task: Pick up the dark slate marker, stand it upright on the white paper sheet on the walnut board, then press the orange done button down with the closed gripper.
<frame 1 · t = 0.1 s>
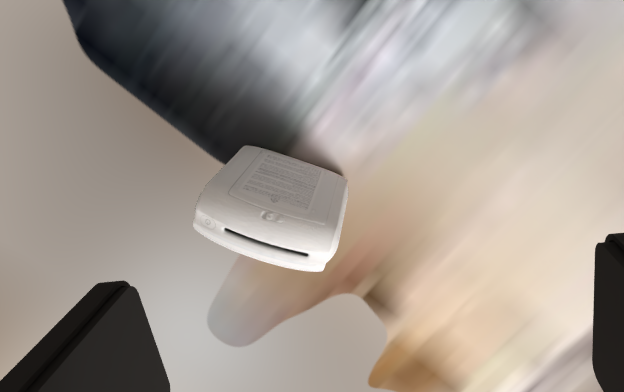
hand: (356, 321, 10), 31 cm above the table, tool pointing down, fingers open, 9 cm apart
photo printer: (291, 177, 43), on the table
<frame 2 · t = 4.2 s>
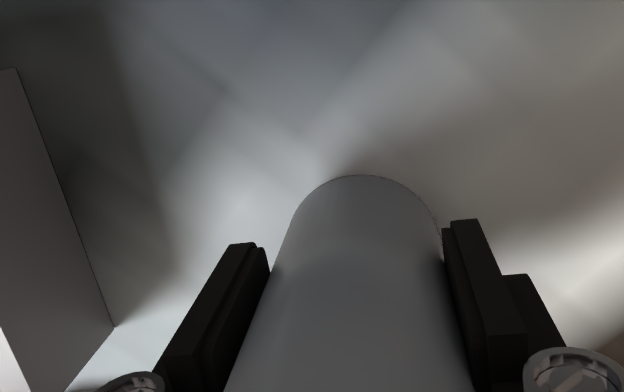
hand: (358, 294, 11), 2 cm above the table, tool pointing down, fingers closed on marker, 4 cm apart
marker: (362, 245, 13), on the table, touching gripper
when the fingers open (5 cm above the table, at t = 9.9 s): marker drops 1 cm, resting on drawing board.
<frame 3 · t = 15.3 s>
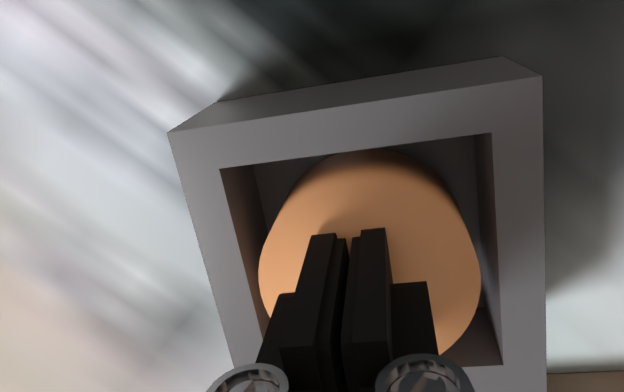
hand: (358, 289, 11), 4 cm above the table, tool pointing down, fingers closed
button housing: (370, 212, 15), on the table
done button: (367, 259, 12), point 3 cm above the table, slide at 1.1 cm
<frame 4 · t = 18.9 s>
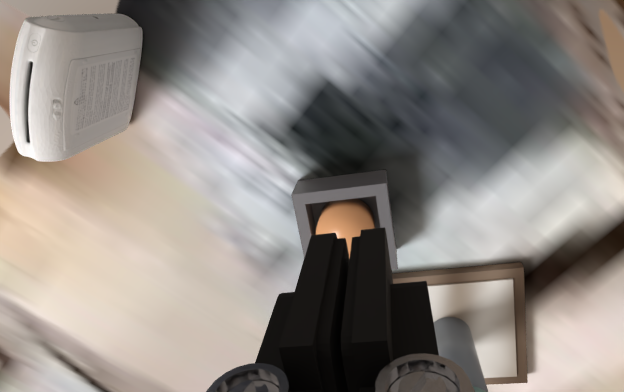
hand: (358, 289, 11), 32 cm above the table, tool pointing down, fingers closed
photo printer: (119, 72, 44), on the table
button housing: (347, 215, 46), on the table
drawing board: (448, 326, 49), on the table
done button: (345, 228, 43), point 3 cm above the table, slide at 1.2 cm
marker: (449, 334, 48), point 1 cm above the table, touching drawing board
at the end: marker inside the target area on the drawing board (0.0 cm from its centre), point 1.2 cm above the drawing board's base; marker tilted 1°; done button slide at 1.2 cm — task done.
